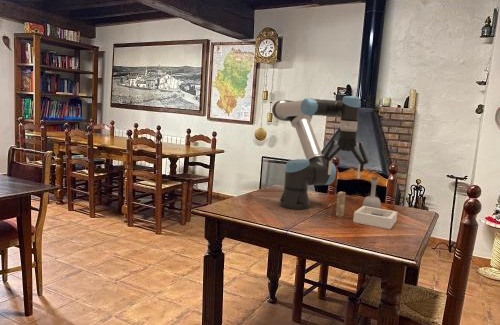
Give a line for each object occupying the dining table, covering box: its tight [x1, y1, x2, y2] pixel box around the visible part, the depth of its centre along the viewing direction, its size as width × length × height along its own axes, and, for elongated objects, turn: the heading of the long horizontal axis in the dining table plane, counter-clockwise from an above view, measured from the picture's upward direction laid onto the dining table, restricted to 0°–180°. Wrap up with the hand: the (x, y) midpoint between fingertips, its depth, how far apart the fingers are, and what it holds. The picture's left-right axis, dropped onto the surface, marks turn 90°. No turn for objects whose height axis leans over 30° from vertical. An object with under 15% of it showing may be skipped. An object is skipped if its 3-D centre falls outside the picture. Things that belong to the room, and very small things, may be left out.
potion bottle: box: [362, 175, 382, 209], centre depth 185 cm, size 9×9×18 cm
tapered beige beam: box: [335, 191, 347, 218], centre depth 173 cm, size 2×4×11 cm, turn 149°
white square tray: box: [352, 205, 398, 230], centre depth 166 cm, size 16×16×4 cm
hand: (343, 176), depth 172 cm, fingers open, 13 cm apart
